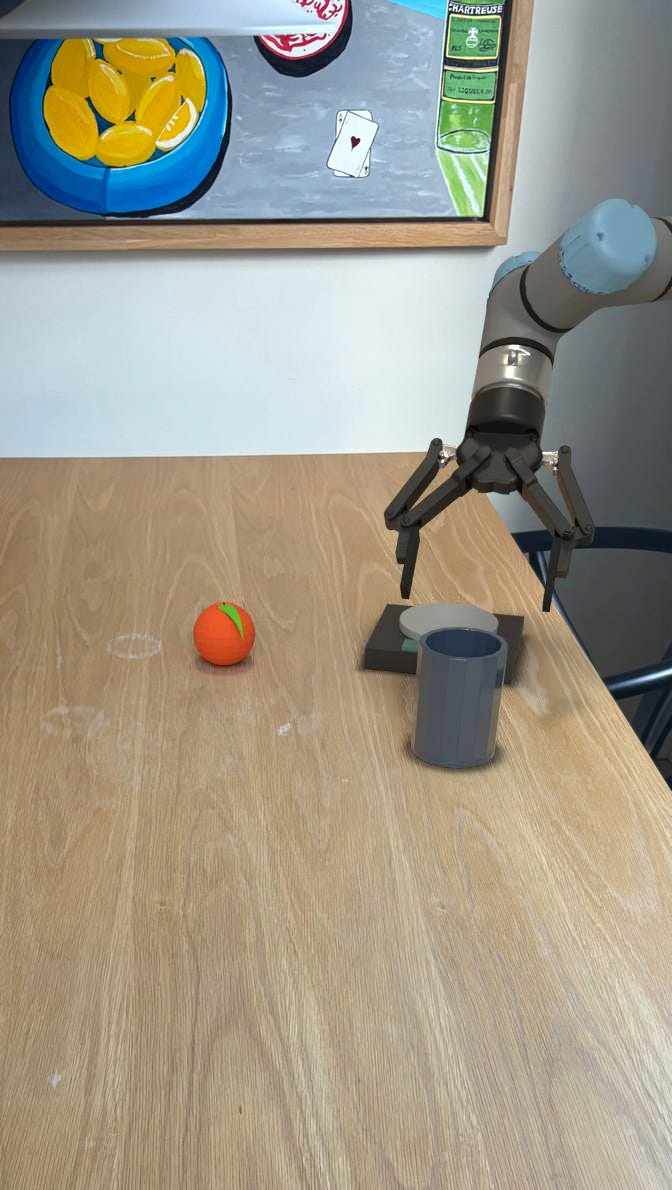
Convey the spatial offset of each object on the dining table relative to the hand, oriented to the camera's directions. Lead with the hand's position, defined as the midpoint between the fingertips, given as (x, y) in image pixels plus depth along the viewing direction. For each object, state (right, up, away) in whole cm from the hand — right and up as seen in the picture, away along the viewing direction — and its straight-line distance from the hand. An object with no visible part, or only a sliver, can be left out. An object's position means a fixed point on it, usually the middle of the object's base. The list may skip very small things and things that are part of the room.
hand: (474, 599), depth 119 cm
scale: (+1, -2, +21) cm, 21 cm away
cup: (-2, -14, 0) cm, 15 cm away
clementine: (-24, -4, +19) cm, 30 cm away
